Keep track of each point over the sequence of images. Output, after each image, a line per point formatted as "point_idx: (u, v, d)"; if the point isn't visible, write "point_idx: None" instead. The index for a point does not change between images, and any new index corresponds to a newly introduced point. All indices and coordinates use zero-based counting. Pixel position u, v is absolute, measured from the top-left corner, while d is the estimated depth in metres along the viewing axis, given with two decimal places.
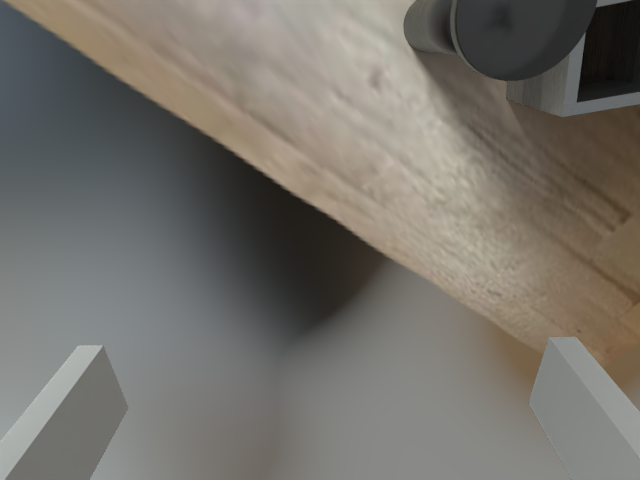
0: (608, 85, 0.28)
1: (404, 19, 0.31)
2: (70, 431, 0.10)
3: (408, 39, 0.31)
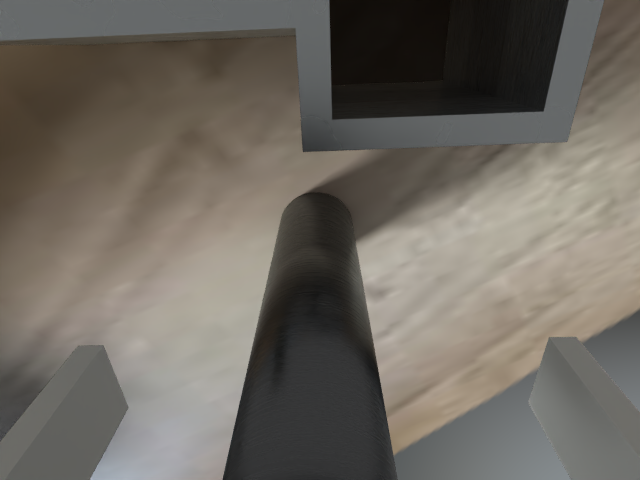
0: None
1: None
2: (70, 431, 0.10)
3: None
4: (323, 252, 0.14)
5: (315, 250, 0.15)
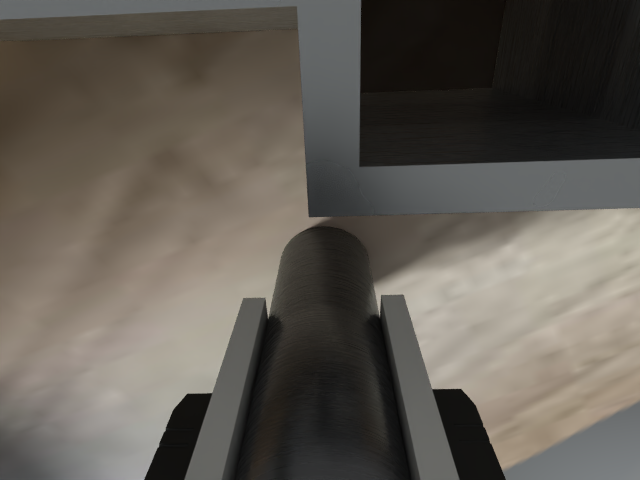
0: None
1: None
2: (258, 364, 0.11)
3: None
4: (336, 328, 0.10)
5: (326, 325, 0.11)
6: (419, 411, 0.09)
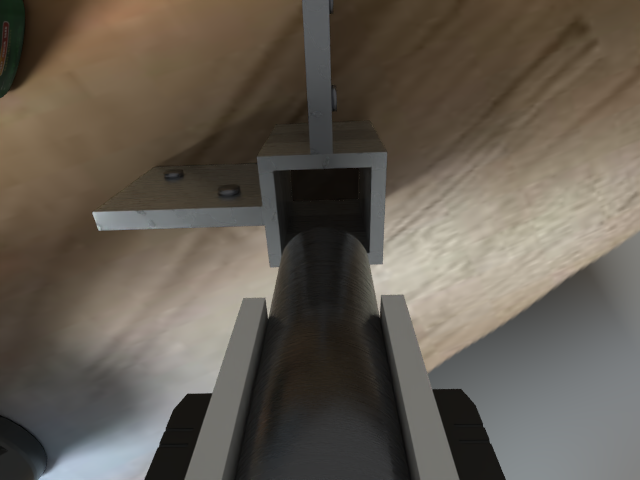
0: (365, 169, 0.24)
1: None
2: (258, 364, 0.11)
3: None
4: (336, 328, 0.10)
5: (326, 325, 0.11)
6: (419, 411, 0.09)
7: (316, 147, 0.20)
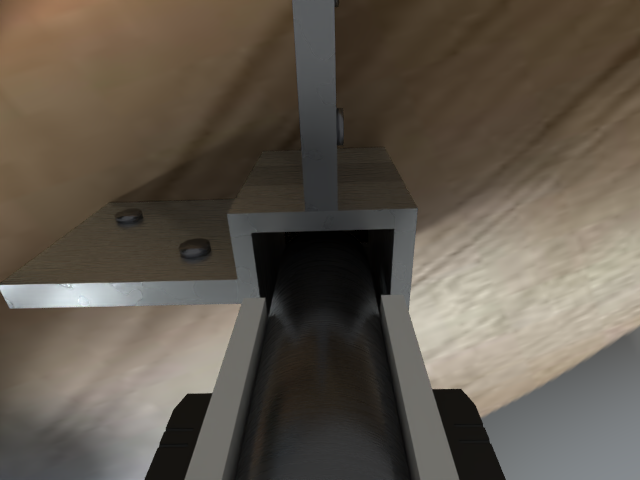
0: None
1: None
2: (258, 364, 0.11)
3: None
4: (336, 328, 0.10)
5: (326, 325, 0.11)
6: (419, 411, 0.09)
7: (314, 201, 0.14)
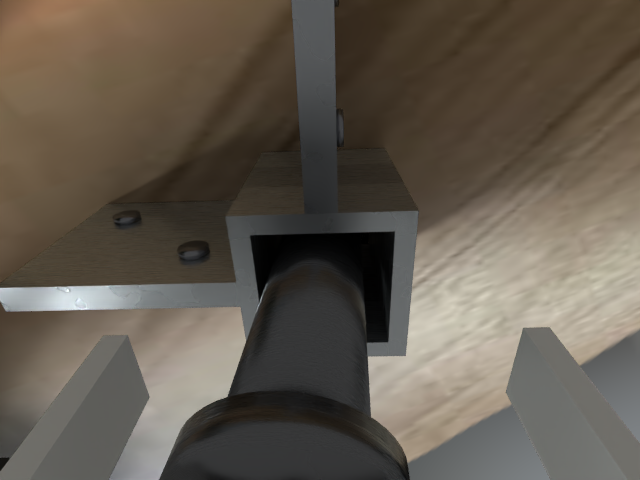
0: None
1: None
2: (99, 417, 0.10)
3: None
4: None
5: None
6: None
7: (313, 204, 0.14)
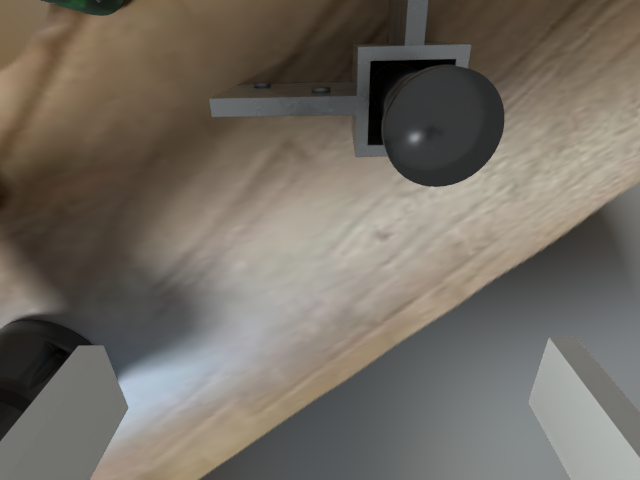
0: None
1: None
2: (70, 431, 0.10)
3: None
4: (413, 68, 0.27)
5: (409, 68, 0.27)
6: None
7: (410, 39, 0.23)
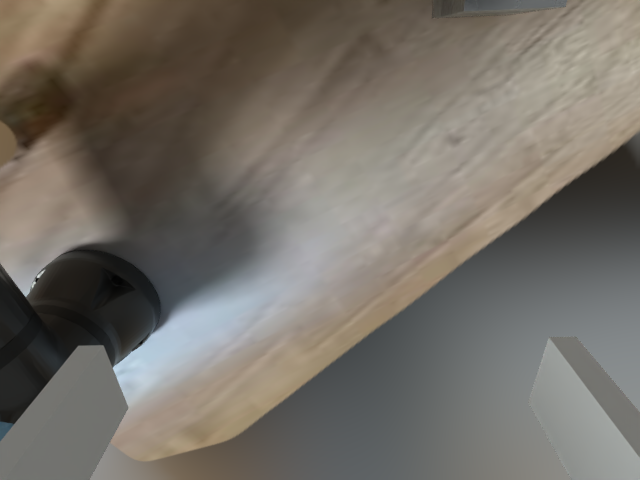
0: None
1: None
2: (70, 431, 0.10)
3: None
4: None
5: None
6: None
7: None
